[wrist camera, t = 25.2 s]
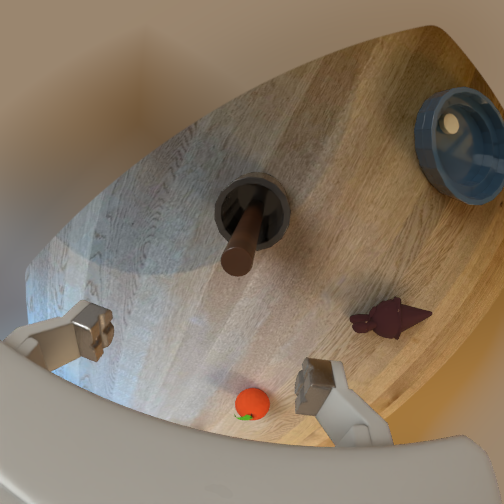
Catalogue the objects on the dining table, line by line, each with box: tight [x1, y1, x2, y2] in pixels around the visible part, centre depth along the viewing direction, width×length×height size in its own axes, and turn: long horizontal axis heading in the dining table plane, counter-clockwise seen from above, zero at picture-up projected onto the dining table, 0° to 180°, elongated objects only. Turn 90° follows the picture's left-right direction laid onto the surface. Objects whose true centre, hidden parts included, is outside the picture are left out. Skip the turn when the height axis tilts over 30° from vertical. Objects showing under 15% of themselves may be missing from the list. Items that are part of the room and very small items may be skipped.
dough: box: [439, 113, 459, 134], centre depth 31 cm, size 3×3×2 cm
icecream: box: [350, 296, 432, 340], centre depth 41 cm, size 7×7×15 cm
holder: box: [215, 172, 291, 251], centre depth 36 cm, size 9×9×8 cm
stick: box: [221, 200, 264, 276], centre depth 30 cm, size 2×2×20 cm
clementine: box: [234, 388, 270, 420], centre depth 50 cm, size 8×7×7 cm
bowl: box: [414, 87, 504, 205], centre depth 31 cm, size 18×18×6 cm
